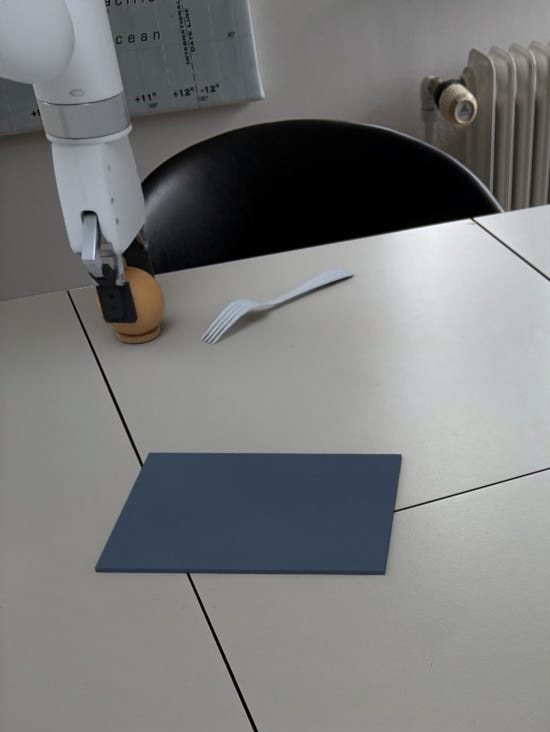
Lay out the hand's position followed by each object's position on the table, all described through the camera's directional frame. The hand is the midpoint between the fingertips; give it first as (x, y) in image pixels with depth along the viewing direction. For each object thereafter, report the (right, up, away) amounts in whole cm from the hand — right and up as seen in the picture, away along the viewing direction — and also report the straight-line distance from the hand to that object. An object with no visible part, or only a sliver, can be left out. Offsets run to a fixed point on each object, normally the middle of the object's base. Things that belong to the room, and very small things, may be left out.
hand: (131, 303), depth 105 cm
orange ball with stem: (0, -2, +2) cm, 3 cm away
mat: (+17, -24, -21) cm, 36 cm away
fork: (+14, +2, +7) cm, 16 cm away
